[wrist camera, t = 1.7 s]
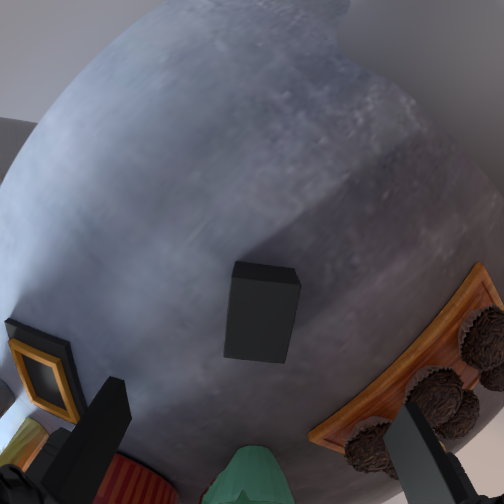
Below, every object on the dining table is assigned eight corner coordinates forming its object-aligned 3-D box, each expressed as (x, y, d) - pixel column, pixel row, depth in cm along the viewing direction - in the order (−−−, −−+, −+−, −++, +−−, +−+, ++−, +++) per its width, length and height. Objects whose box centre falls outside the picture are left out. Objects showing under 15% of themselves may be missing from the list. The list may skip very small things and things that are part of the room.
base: (9, 317, 26) (-2, 324, 24) (69, 341, 26) (59, 351, 24) (37, 400, 30) (30, 408, 28) (94, 426, 30) (88, 437, 28)
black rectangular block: (235, 260, 24) (231, 276, 20) (294, 268, 24) (301, 284, 20) (227, 333, 25) (222, 357, 21) (281, 339, 25) (284, 364, 21)
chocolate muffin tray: (475, 261, 23) (526, 286, 15) (510, 329, 25) (543, 356, 17) (307, 432, 29) (316, 485, 20) (377, 458, 31) (391, 498, 23)
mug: (253, 424, 28) (252, 493, 19) (305, 452, 30) (313, 511, 20) (182, 461, 31) (169, 514, 21) (232, 484, 33) (228, 534, 23)
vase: (54, 441, 33) (25, 489, 19) (36, 435, 33) (7, 477, 20) (38, 420, 32) (4, 468, 18) (21, 413, 32) (-13, 456, 18)
